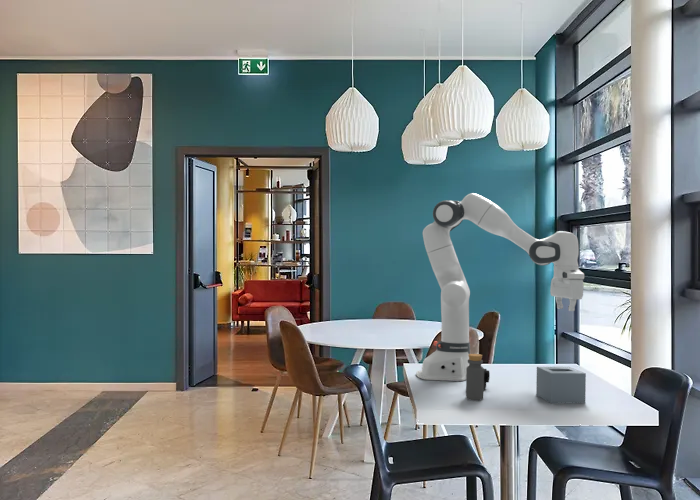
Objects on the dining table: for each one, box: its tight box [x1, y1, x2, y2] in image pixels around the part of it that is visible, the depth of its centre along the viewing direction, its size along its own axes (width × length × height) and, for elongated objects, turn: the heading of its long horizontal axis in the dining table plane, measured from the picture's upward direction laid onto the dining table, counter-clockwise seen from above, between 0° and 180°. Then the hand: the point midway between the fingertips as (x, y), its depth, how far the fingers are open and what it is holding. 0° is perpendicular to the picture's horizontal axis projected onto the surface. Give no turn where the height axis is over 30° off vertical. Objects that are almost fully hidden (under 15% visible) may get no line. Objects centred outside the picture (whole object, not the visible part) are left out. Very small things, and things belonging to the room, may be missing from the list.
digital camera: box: [484, 368, 491, 390], centre depth 215 cm, size 10×5×7 cm, turn 157°
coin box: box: [536, 366, 587, 404], centre depth 202 cm, size 12×12×10 cm
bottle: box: [465, 353, 485, 402], centre depth 200 cm, size 6×6×15 cm
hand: (565, 309), depth 223 cm, fingers open, 8 cm apart
